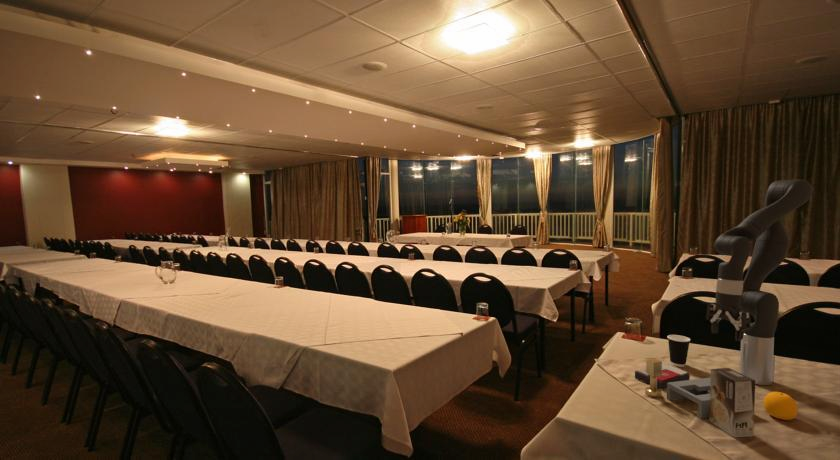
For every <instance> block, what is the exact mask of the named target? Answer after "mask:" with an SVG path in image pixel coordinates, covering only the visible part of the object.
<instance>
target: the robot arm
mask: <svg viewBox="0 0 840 460" xmlns="http://www.w3.org/2000/svg"><path fill="white" fill-rule="evenodd" d="M812 193H813V187H812V185H811V183H810V182H809V181H808V180H805V179H798V178H797V179H796V178H795V179H786V180H785V179H783V180H775V181H773V182H771V183H770V185H769V186H768V188H767V190H766V194H765V201H764V206H763V207H762V208H760V209H758V210H756V211H754V212H753V213H751V214H749V215H748V216H747V217H745V218H744V219H743V220H742V221H741V222H740V223H739V224H738V225H737V226H735V227H733V228H730V229H729V230H727V231H725V232H724V233H723V232H722V234H720V235H719V236H718V237H717V238H716V239H715V242H714V250H715V251H716V253H718V254H720V255H723V256H731V257H730V259H729V260H728V261H723V262H720V263H718V264H719V265H718V271H717V272H718V273H717V281H716V286H715V287H716V289H715V290H716V291H715V300H714V301H715V302H714V303H708V304H707V306H706V314H705V319H706V320H708V321H710V323H711V324H710V331H711V333H712V334H718V333H719V326H720V323H719V322H720V321H721V320H726V321H727V322H730V323H731V324H732V325H733V326H734V328H735V332H734V333H735V334H734V340H735V341H738V342H740V353H739V354H740V358H739V373H741V374H743V375H745V376H747V377H749V378H751V379H753V380H755V385H759V386H771V385H772V384H773V383H774V382H775V368H776V367H775V366H776V357H775V356H774V353H775V352H774V350H775V349H774V347H775V332H776V330H777V327H778V320H779V319H778V318H779V309H780V304H779V299H778V296H776V294H775V293H772V292H768V291H762V290H761V289H762V288H761V287H762V285H763V282H764V281H765V280H766V278H767V277H768V276H769V274H771V273H772V272H774V270H776V269H777V268H778V267H779V266H780V265H781V264H782V263H783V262H784V261H785V259H786V256H787V254H788V251H789V250H788V249H789V247H790V237H789V234H788V232H787V229H786V228H785V225H784V223H783V220H782V218H783V217H785V216H787V215H788V214H790V213H792V212H793V211H795V210H796V209H798V208H800V207H801V206H803V205H804V204H805V203H808V201H809V200H810V198H811V196H812ZM751 241H753V242H754V241H755V243H754V247H753V250H752V244H751ZM751 252H752V255H751V258H750V254H751ZM749 258H750V261H749V265H748V268H747V272H746V273H745V276H744V270H745V267H746V264H747V261H748V260H749ZM715 303H716V304H715ZM751 315H752V316H755V319H754V322H751Z"/></svg>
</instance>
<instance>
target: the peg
mask: <svg viewBox="0 0 840 460" xmlns="http://www.w3.org/2000/svg"><path fill="white" fill-rule="evenodd" d="M662 363H663V361H662V360H660V359H657V358H656V357H653V358H646V365H645V366H646V367H645V368H646V373H647V374H649V375H650V384H649V387H646V388H645V390H644V391H645V393H644V394H645V395H646V396H647V395H648V397H650V398H654V399H660V398H662V394H663V393H662V390H661V389H659V388H657V377H658V376H662Z"/></svg>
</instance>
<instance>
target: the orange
mask: <svg viewBox="0 0 840 460" xmlns="http://www.w3.org/2000/svg"><path fill="white" fill-rule="evenodd" d="M763 408H764V410H765V412H767V413H768V415H769V416H771V417H774V418H776V419H779V420H783V421H784V420H785V421H791V420H793V419H795V418H796V417H797V415H798V413H799V408H798V404H797V402H796V400H795V399H794V398H792V397H791V396H790V395H789V394H787V393H784V392H780V391H771V392H769V393H767V394H766V395H765V396H764V398H763Z"/></svg>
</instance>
